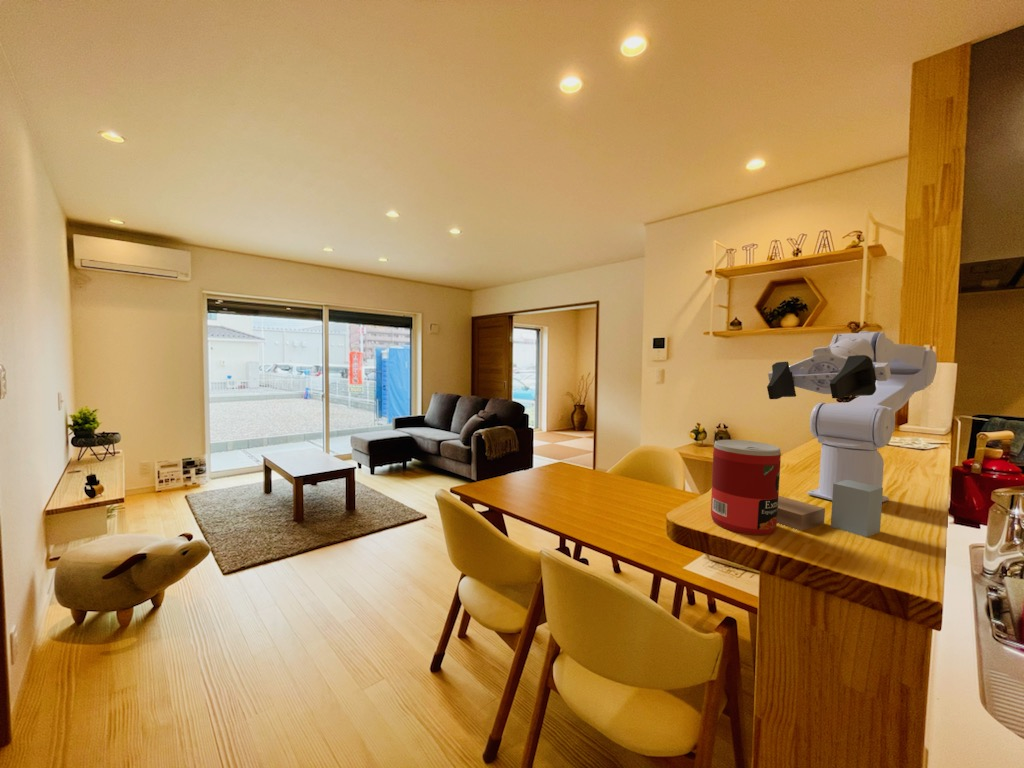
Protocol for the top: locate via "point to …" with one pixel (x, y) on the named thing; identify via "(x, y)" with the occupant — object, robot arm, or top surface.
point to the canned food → (745, 486)
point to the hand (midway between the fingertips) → (800, 391)
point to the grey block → (856, 507)
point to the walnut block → (799, 514)
